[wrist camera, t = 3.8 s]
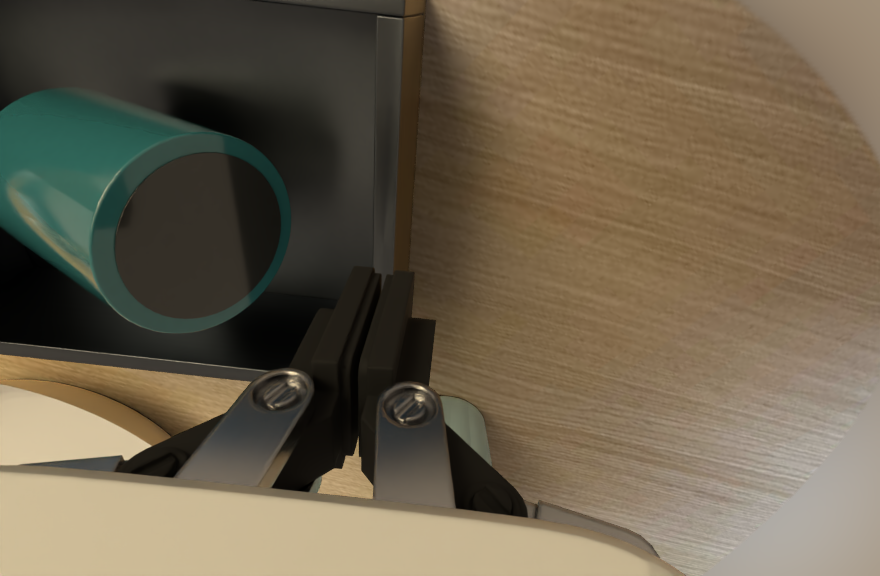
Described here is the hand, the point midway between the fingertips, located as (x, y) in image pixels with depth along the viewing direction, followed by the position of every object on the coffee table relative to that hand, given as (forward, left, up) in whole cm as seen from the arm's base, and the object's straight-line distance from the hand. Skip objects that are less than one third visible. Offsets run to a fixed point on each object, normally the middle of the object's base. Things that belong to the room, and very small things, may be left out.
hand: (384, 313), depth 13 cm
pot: (0, -13, -7) cm, 15 cm away
